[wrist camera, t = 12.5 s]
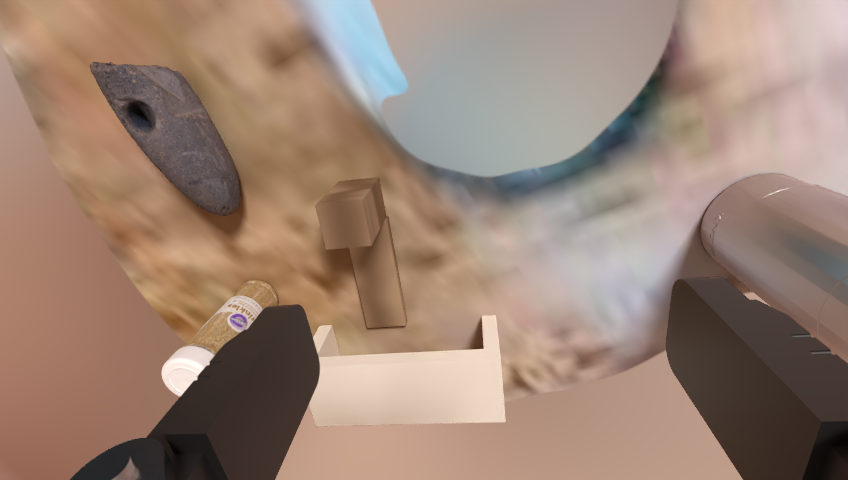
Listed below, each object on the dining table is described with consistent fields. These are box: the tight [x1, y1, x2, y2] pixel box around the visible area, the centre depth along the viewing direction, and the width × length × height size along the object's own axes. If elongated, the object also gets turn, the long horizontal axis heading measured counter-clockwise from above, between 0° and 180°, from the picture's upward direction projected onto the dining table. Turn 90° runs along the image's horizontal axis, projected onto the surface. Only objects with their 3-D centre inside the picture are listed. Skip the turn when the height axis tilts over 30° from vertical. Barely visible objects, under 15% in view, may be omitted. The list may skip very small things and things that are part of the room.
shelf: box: [309, 315, 506, 427], centre depth 44 cm, size 20×8×7 cm, turn 98°
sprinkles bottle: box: [162, 280, 278, 397], centre depth 40 cm, size 5×5×14 cm
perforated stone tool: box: [90, 62, 241, 216], centre depth 36 cm, size 15×5×7 cm, turn 22°
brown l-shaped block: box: [315, 177, 407, 328], centre depth 40 cm, size 4×16×7 cm, turn 8°
